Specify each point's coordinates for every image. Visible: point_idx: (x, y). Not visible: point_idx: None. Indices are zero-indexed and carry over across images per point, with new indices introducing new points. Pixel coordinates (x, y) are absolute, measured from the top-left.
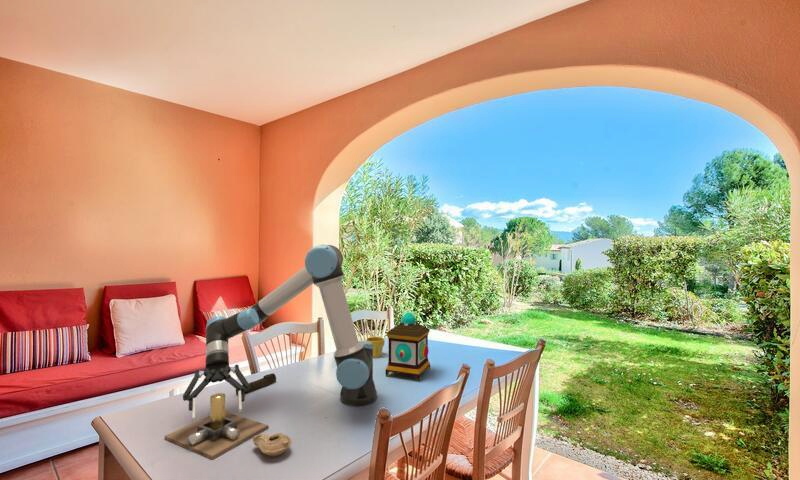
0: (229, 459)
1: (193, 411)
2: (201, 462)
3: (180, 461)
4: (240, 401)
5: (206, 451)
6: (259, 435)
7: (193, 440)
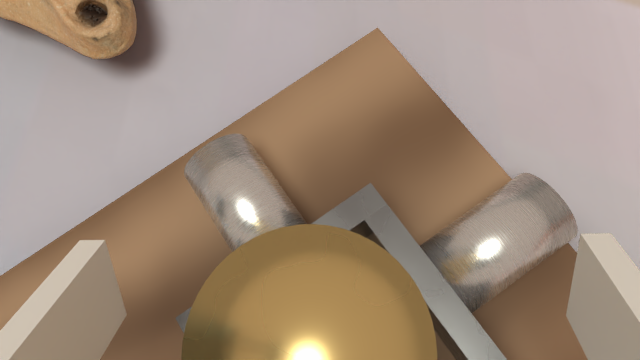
0: (288, 9)
1: (636, 281)
2: (436, 36)
3: (563, 92)
4: (38, 300)
5: (415, 93)
6: (81, 25)
7: (521, 175)
